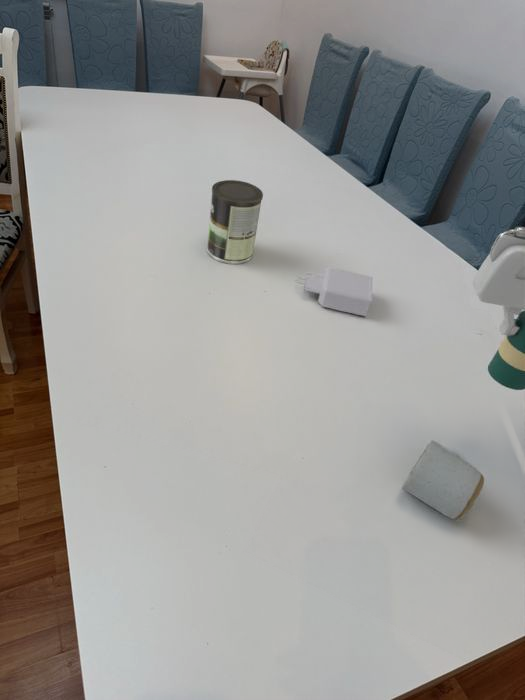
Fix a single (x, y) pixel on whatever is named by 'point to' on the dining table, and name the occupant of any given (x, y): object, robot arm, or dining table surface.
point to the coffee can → (233, 221)
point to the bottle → (510, 359)
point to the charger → (341, 290)
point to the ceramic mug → (444, 481)
